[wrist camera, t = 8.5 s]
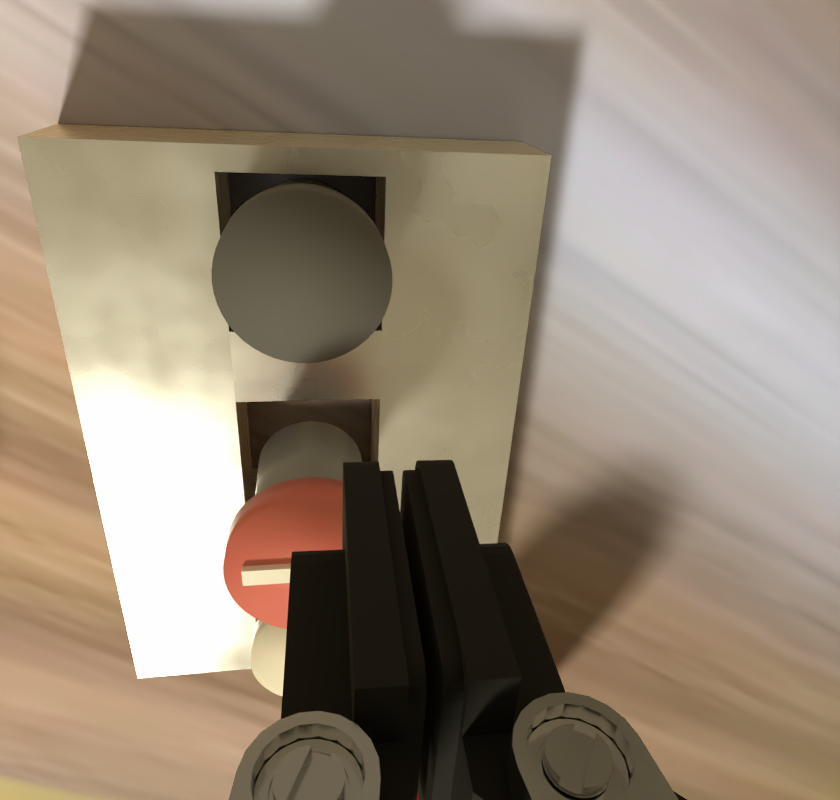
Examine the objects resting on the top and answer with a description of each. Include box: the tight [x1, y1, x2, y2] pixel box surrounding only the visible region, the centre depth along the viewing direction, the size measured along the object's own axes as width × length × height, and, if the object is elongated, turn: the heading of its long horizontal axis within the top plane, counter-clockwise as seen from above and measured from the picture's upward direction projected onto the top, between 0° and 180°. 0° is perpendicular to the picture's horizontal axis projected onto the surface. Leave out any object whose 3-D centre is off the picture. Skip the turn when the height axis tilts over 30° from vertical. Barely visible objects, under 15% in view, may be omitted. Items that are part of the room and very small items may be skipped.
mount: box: [17, 124, 552, 678], centre depth 24 cm, size 14×20×3 cm
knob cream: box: [250, 620, 287, 696], centre depth 26 cm, size 5×5×5 cm
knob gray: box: [211, 179, 393, 363], centre depth 19 cm, size 5×5×5 cm
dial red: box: [223, 421, 362, 629], centre depth 20 cm, size 5×5×5 cm
